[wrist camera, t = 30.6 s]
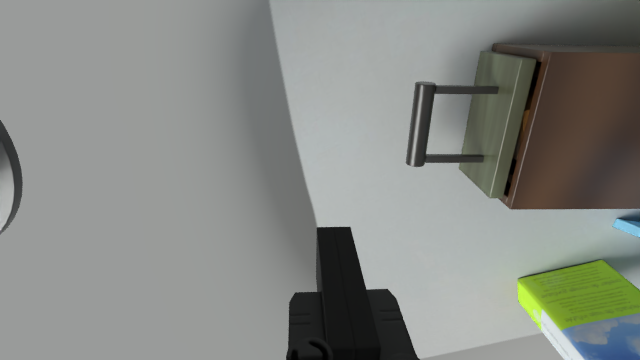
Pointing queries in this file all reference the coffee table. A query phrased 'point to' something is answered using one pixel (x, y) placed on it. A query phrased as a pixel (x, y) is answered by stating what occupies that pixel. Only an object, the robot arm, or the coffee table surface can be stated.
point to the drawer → (480, 120)
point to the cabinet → (579, 129)
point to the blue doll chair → (628, 226)
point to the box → (585, 311)
